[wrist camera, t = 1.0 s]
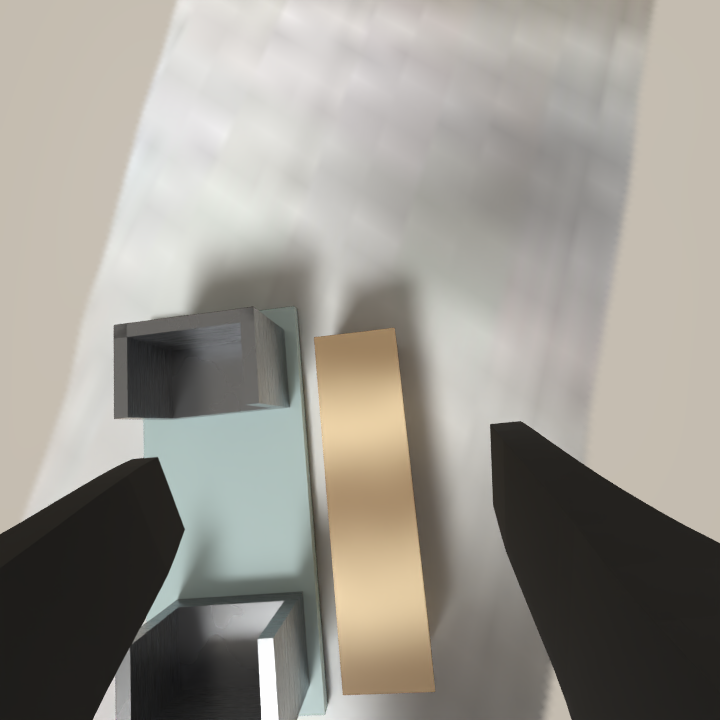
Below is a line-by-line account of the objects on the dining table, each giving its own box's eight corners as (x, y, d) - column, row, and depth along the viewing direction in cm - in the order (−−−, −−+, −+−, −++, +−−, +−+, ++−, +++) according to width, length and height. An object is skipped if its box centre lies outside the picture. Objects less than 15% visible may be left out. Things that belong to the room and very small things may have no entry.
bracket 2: (309, 685, 19) (280, 762, 15) (179, 691, 20) (115, 765, 15) (302, 591, 20) (273, 637, 15) (177, 599, 20) (115, 646, 16)
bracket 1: (170, 344, 22) (113, 325, 18) (284, 329, 22) (253, 306, 18) (172, 420, 22) (114, 418, 17) (289, 407, 21) (259, 403, 17)
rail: (430, 638, 20) (435, 691, 16) (355, 642, 20) (342, 695, 16) (397, 344, 22) (394, 327, 18) (330, 352, 22) (313, 337, 18)
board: (327, 706, 20) (324, 714, 19) (155, 712, 20) (148, 720, 20) (296, 309, 23) (294, 306, 22) (148, 328, 23) (142, 325, 23)
